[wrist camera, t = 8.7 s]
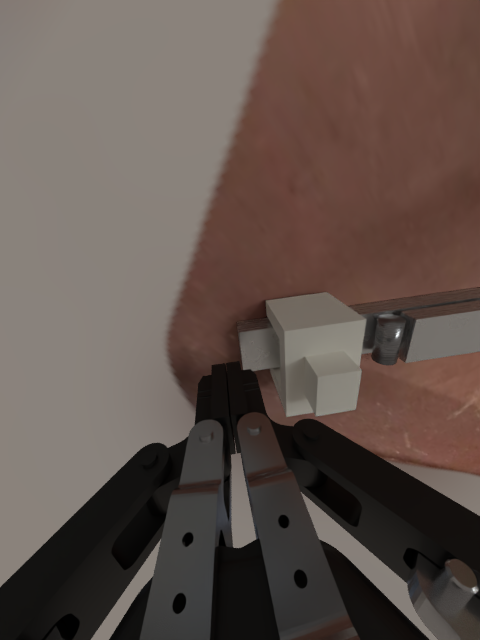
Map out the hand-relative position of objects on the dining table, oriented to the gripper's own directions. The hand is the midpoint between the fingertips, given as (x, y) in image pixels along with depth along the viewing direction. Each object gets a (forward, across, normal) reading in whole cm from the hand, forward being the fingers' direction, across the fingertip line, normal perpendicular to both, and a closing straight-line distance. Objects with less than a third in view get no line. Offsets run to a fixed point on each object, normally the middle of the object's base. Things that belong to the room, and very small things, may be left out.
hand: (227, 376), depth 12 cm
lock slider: (+3, -5, 0) cm, 6 cm away
